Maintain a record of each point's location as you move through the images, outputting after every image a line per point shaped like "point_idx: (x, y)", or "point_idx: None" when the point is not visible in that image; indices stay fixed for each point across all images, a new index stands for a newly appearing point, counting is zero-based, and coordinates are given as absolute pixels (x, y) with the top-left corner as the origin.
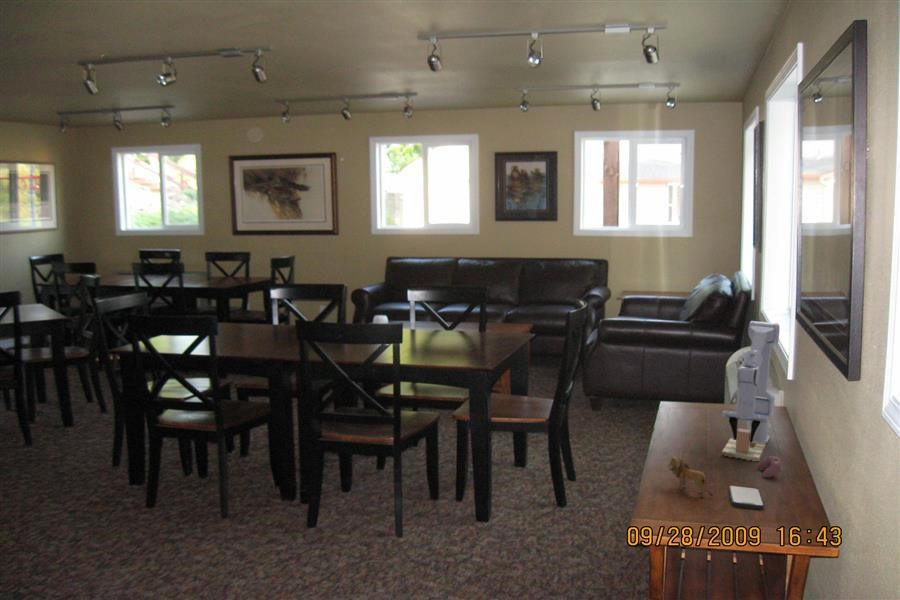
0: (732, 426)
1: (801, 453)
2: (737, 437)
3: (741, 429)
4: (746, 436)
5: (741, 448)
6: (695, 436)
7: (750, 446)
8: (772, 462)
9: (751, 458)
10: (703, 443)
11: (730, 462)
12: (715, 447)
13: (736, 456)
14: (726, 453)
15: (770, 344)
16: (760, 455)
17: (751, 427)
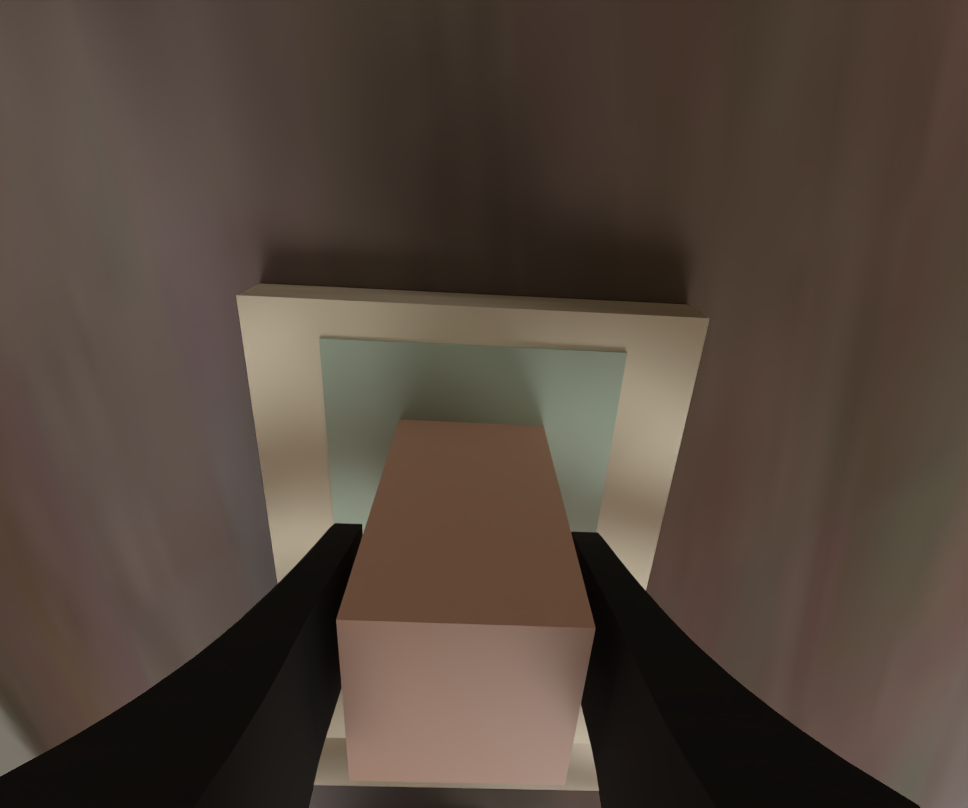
0: (739, 707)
1: (27, 725)
2: (556, 536)
3: (512, 754)
4: (401, 559)
5: (475, 442)
6: (864, 758)
7: None
8: None
9: (338, 293)
10: (828, 628)
11: (583, 54)
12: (728, 569)
13: (520, 302)
14: (646, 311)
15: None
16: (262, 435)
17: (234, 737)
